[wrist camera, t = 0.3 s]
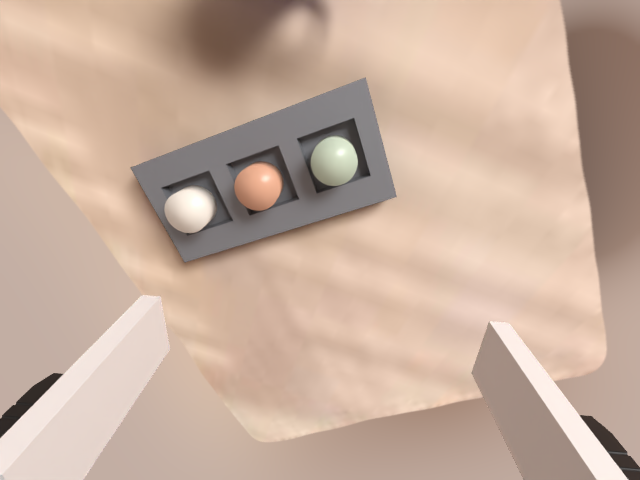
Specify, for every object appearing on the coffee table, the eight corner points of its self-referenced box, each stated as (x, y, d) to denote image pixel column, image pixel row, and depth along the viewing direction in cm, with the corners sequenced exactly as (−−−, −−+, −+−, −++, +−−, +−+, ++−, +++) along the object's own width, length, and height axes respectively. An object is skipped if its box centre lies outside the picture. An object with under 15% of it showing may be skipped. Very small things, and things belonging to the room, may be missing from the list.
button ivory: (170, 192, 35) (156, 200, 32) (205, 179, 34) (194, 186, 31) (189, 227, 36) (177, 238, 34) (223, 216, 36) (214, 226, 33)
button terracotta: (236, 169, 33) (226, 175, 31) (274, 155, 33) (268, 160, 30) (252, 207, 35) (245, 216, 32) (289, 194, 34) (285, 202, 32)
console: (146, 162, 37) (130, 167, 34) (363, 79, 32) (365, 77, 29) (194, 251, 41) (184, 262, 38) (392, 189, 36) (396, 196, 34)
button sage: (306, 143, 32) (304, 147, 29) (348, 128, 31) (349, 131, 29) (321, 184, 34) (319, 191, 31) (361, 171, 33) (363, 177, 30)
